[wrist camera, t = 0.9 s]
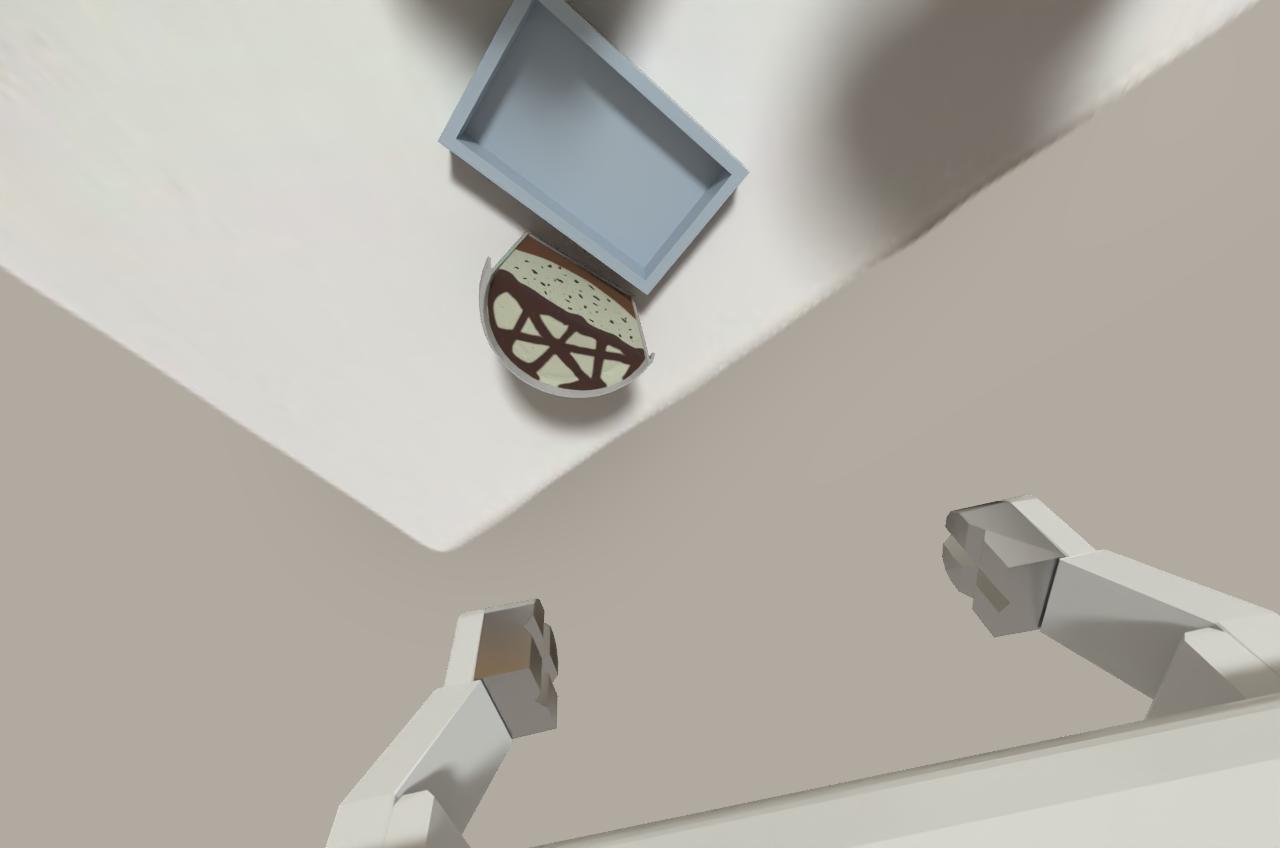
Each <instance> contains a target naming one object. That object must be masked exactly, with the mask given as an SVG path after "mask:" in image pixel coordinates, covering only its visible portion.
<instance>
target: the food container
mask: <svg viewBox="0 0 1280 848" xmlns="http://www.w3.org/2000/svg"><path fill="white" fill-rule="evenodd" d="M479 309H480V317H481V323H482V326H483V330H484V333H485V336H486V338H487V340H488V342H489V344H490V346H491V348H492V349H493V351H494V352H495V354H496V355H497V357H498V358H499V359H500V361H501V362H502V363H503V364H504V365H505V366H506V368H507V369H508V370H509V371H510V372H511V373H513V374H514V375H515V376H516V377H518V378H519V379H520V380H522V381H523V382H525V383H527V384H528V385H530V386H532V387H534V388H536V389H539V390H541V391H543V392H546V393H550V394H553V395H557V396H563V397H570V398H586V397H594V396H600V395H603V394H607V393H610V392H613V391H615V390H618V389H620V388H622V387H624V386H625V385H627V384H629V383H630V382H632V381H633V380H635V379H636V378H637V377H638V376H639V375H641V374H642V373H643V372H644V371H645V370H646V369H647V367H648V366H649V365H650V364H651V363H652V362H653V359H654V355H655V353H652V354H651V355H650V356H649V355H648V351H647V347H646V343H645V339H644V335H643V331H642V327H641V323H640V319H639V316H638V312H637V308H636V304H635V300H634V296H632V295H631V294H629V293H628V292H626V291H624V290H623V289H621V288H619V287H618V286H616V285H614V284H613V283H611V282H610V281H608V280H606V279H605V278H603V277H601V276H600V275H598V274H597V273H595V272H593V271H592V270H590V269H588V268H587V267H585V266H583V265H582V264H580V263H579V262H577V261H575V260H574V259H572V258H570V257H569V256H567V255H565V254H564V253H562V252H561V251H559V250H557V249H556V248H554V247H552V246H551V245H549V244H547V243H546V242H544V241H543V240H541V239H539V238H538V237H536V236H534V235H533V234H531V233H529V232H528V231H526V232H525V233H524V234H523V235H522V236H521V237H520V239H519V240H518V241H517V242H516V243H515V244H514V245H513V246H512V247H511V249H510V250H509V251H508V252H507V253H506V254H505V255H504V256H503V258H502V259H501V260H500V261H499V262H498V263H497V264H496V265H495V267H494V268H491V259H490V257H488V258H487V260H486V263H485V265H484V268H483V271H482V275H481V280H480V287H479Z"/></svg>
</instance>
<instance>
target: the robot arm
mask: <svg viewBox="0 0 1280 848" xmlns="http://www.w3.org/2000/svg"><path fill="white" fill-rule="evenodd" d="M946 528H947V529H948V531H949V532H950V533H951V536H950V537H949V538H948V539H947V540H946V541H945V543H944V544H943V555H942V557H943V561H944V565H945V569H946V572H947V574H948V576H949V578H950V579H951V581H952V583H953V584H954V585H955V587H956V588H957V589H958V591H960V592H962V593H964V594H966V595H968V596H970V597H972V598H973V608H972V609H973V611H974V612H975V613H976V614H977V616H978V617H979V618H980V619H981V621H982V622H983V623H984V625H985V626H986V627H987V629H988V630H989V631H990V633H991V634H992V635H993V636H994V637H998V636H1003V635H1009V634H1015V633H1021V632H1026V631H1031V630H1037V629H1040V632H1042V633H1044V634H1045V635H1047V636H1048V637H1050V638H1052V639H1053V640H1055V641H1057V642H1058V643H1060V644H1062V645H1064V646H1065V647H1067V648H1068V649H1070V650H1072V651H1074V652H1075V653H1077V654H1078V655H1080V656H1082V657H1083V658H1085V659H1087V660H1088V661H1090V662H1092V663H1094V664H1095V665H1097V666H1098V667H1100V668H1102V669H1103V670H1105V671H1107V672H1108V673H1110V674H1112V675H1113V676H1115V677H1117V678H1119V679H1120V680H1122V681H1124V682H1125V683H1127V684H1128V685H1130V686H1132V687H1133V688H1135V689H1137V690H1138V691H1140V692H1142V693H1143V694H1145V695H1147V696H1148V697H1150V698H1152V699H1153V702H1152V704H1151V707H1150V709H1149V711H1148V713H1147V715H1146V717H1145V719H1144V720H1143V721H1138V722H1133V723H1128V724H1124V725H1118V726H1113V727H1109V728H1104V729H1099V730H1094V731H1089V732H1085V733H1080V734H1075V735H1070V736H1065V737H1060V738H1056V739H1051V740H1046V741H1041V742H1036V743H1032V744H1027V745H1022V746H1017V747H1012V748H1008V749H1003V750H998V751H993V752H988V753H983V754H979V755H974V756H969V757H964V758H959V759H954V760H950V761H945V762H940V763H936V764H931V765H926V766H921V767H916V768H911V769H906V770H902V771H897V772H892V773H887V774H882V775H877V776H872V777H868V778H863V779H858V780H853V781H849V782H844V783H839V784H834V785H829V786H825V787H820V788H815V789H810V790H805V791H801V792H796V793H791V794H786V795H781V796H777V797H772V798H767V799H762V800H757V801H753V802H748V803H743V804H738V805H734V806H729V807H724V808H720V809H714V810H710V811H705V812H700V813H695V814H690V815H685V816H680V817H676V818H671V819H666V820H661V821H657V822H651V823H647V824H642V825H638V826H632V827H628V828H623V829H618V830H613V831H608V832H603V833H599V834H594V835H589V836H584V837H579V838H575V839H569V840H565V841H560V842H555V843H550V844H545V845H540V846H536V847H531V848H1280V616H1279V615H1277V614H1276V613H1275V612H1272V611H1270V610H1267V609H1264V608H1262V607H1259V606H1256V605H1254V604H1251V603H1248V602H1245V601H1243V600H1240V599H1237V598H1234V597H1232V596H1229V595H1227V594H1224V593H1221V592H1219V591H1216V590H1213V589H1210V588H1208V587H1205V586H1202V585H1200V584H1197V583H1194V582H1192V581H1189V580H1186V579H1183V578H1181V577H1178V576H1175V575H1173V574H1170V573H1167V572H1164V571H1162V570H1159V569H1156V568H1154V567H1151V566H1148V565H1146V564H1143V563H1140V562H1138V561H1135V560H1132V559H1129V558H1127V557H1124V556H1121V555H1118V554H1116V553H1113V552H1111V551H1108V550H1105V549H1104V550H1098V551H1096V550H1095V549H1094V548H1093V547H1092V546H1090V545H1089V544H1088V543H1087V542H1086V541H1085V540H1084V539H1083V538H1081V537H1080V536H1079V535H1078V534H1077V533H1076V532H1075V531H1073V530H1072V529H1071V528H1070V527H1069V526H1068V525H1067V524H1066V523H1064V522H1063V521H1062V520H1061V519H1060V518H1059V517H1058V516H1057V515H1055V514H1054V513H1053V512H1052V511H1051V510H1050V509H1048V508H1047V507H1046V506H1045V505H1044V504H1043V503H1042V502H1041V501H1040V500H1038V499H1037V498H1036V497H1034V496H1031V495H1023V496H1019V497H1014V498H1010V499H1005V500H1002V501H996V502H991V503H986V504H982V505H977V506H973V507H969V508H964V509H959V510H955V511H951V512H950V513H949V515H948V516H947V520H946ZM557 675H558V657H557V649H556V643H555V639H554V635H553V632H552V629H551V627H550V626H549V625H547V624H546V623H544V609H543V607H542V605H541V602H540V600H539V599H532V600H526V601H521V602H515V603H510V604H505V605H499V606H494V607H488V608H485V609H480V610H475V611H469V612H464V613H462V614H461V616H460V617H459V619H458V621H457V626H456V630H455V635H454V640H453V644H452V649H451V654H450V658H449V663H448V668H447V672H446V677H445V682H444V686H443V687H442V688H438V689H435V691H434V692H433V693H432V694H431V695H430V697H429V698H428V699H427V700H426V702H425V703H424V704H423V705H422V706H421V707H420V709H419V710H418V711H417V712H416V713H415V715H414V716H413V717H412V718H411V720H410V721H409V722H408V723H407V724H406V726H405V727H404V728H403V729H402V731H401V732H400V733H399V734H398V735H397V736H396V738H395V739H394V740H393V741H392V743H391V744H390V745H389V746H388V748H387V749H386V750H385V751H384V752H383V754H382V755H381V756H380V757H379V758H378V760H377V761H376V762H375V763H374V764H373V766H372V767H371V768H370V769H369V770H368V772H367V773H366V774H365V775H364V776H363V778H362V779H361V780H360V781H359V782H358V784H357V785H356V786H355V787H354V788H353V790H352V791H351V792H350V793H349V795H348V796H347V797H346V798H345V799H344V801H343V802H342V803H341V804H340V805H339V808H338V811H337V814H336V818H335V820H334V824H333V827H332V830H331V833H330V836H329V839H328V842H327V845H326V848H470V846H469V845H468V843H467V842H466V841H465V839H464V838H463V836H462V833H463V832H464V830H465V828H466V826H467V824H468V822H469V821H470V819H471V817H472V815H473V813H474V811H475V809H476V808H477V806H478V804H479V802H480V801H481V799H482V797H483V795H484V793H485V792H486V790H487V788H488V786H489V784H490V782H491V781H492V779H493V777H494V775H495V773H496V771H497V770H498V768H499V766H500V764H501V763H502V761H503V759H504V757H505V755H506V753H507V752H508V750H509V748H510V746H511V744H512V742H513V741H512V739H514V738H518V737H522V736H526V735H531V734H535V733H539V732H543V731H547V730H552V729H556V728H557V693H556V691H555V688H554V686H553V684H552V682H553V681H554V679H555V678H556V677H557Z"/></svg>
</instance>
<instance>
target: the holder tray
mask: <svg viewBox="0 0 1280 848" xmlns="http://www.w3.org/2000/svg"><path fill="white" fill-rule="evenodd" d="M438 142H439V143H441V144H442V145H443V146H445V147H446V148H447V149H449V150H450V151H452V152H453V153H454V154H456V155H457V156H458V157H460V158H461V159H462V160H464V161H465V162H466V163H468V164H469V165H471V166H472V167H473V168H475V169H476V170H477V171H479V172H480V173H481V174H483V175H484V176H486V177H487V178H488V179H490V180H491V181H492V182H494V183H495V184H496V185H498V186H499V187H500V188H502V189H503V190H505V191H506V192H507V193H509V194H510V195H511V196H513V197H514V198H515V199H517V200H518V201H520V202H521V203H522V204H524V205H525V206H526V207H528V208H529V209H530V210H532V211H533V212H534V213H536V214H537V215H539V216H540V217H541V218H543V219H544V220H545V221H547V222H548V223H549V224H551V225H552V226H554V227H555V228H556V229H558V230H559V231H560V232H562V233H563V234H564V235H566V236H567V237H568V238H570V239H571V240H573V241H574V242H575V243H577V244H578V245H579V246H581V247H582V248H583V249H585V250H586V251H588V252H589V253H590V254H592V255H593V256H594V257H596V258H597V259H598V260H600V261H601V262H603V263H604V264H605V265H607V266H608V267H609V268H611V269H612V270H613V271H615V272H616V273H617V274H619V275H620V276H622V277H623V278H624V279H626V280H627V281H628V282H630V283H631V284H632V285H634V286H635V287H637V288H638V289H639V290H641V291H642V292H643V293H645V294H646V295H648V294H649V293H650V291H651V290H652V289H653V288H654V287H655V285H656V284H657V283H658V282H659V281H660V279H661V278H662V277H663V276H664V275H665V273H666V272H667V271H668V270H669V269H670V267H671V266H672V265H673V264H674V263H675V261H676V260H677V259H678V258H679V257H680V255H681V254H682V253H683V252H684V251H685V249H686V248H687V247H688V246H689V244H690V243H691V242H692V241H693V240H694V238H695V237H696V236H697V235H698V234H699V232H700V231H701V230H702V229H703V228H704V226H705V225H706V224H707V223H708V222H709V220H710V219H711V218H712V217H713V216H714V214H715V213H716V212H717V211H718V210H719V208H720V207H721V206H722V205H723V203H724V202H725V201H726V200H727V199H728V197H729V196H730V195H731V194H732V193H733V191H734V190H735V189H736V188H737V187H738V185H739V184H740V183H741V182H742V181H743V179H744V178H745V177H746V176H747V175H748V173H749V171H748V170H747V169H746V168H745V167H744V166H743V164H742V163H741V162H740V161H739V160H738V159H737V158H735V157H734V156H733V155H732V154H731V153H730V152H729V151H728V150H727V149H726V148H725V147H723V146H722V145H721V144H720V143H719V142H718V141H717V140H716V139H715V138H714V137H713V136H711V135H710V134H709V133H708V132H707V131H706V130H705V129H704V128H703V127H702V126H701V125H699V124H698V123H697V122H696V121H695V120H694V119H693V118H692V117H691V116H690V115H689V114H688V113H686V112H685V111H684V110H683V109H682V108H681V107H680V106H679V105H678V104H677V103H676V102H674V101H673V100H672V99H671V98H670V97H669V96H668V95H667V94H666V93H665V92H664V91H662V90H661V89H660V88H659V87H658V86H657V85H656V84H655V83H654V82H653V81H652V80H650V79H649V78H648V77H647V76H646V75H645V74H644V73H643V72H642V71H641V70H640V69H638V68H637V67H636V66H635V65H634V64H633V63H632V62H631V61H630V60H629V59H628V58H627V57H625V56H624V55H623V54H622V53H621V52H620V51H619V50H618V49H617V48H616V47H615V46H613V45H612V44H611V43H610V42H609V41H608V40H607V39H606V38H605V37H604V36H603V35H601V34H600V33H599V32H598V31H597V30H596V29H595V28H594V27H593V26H592V25H591V24H589V23H588V22H587V21H586V20H585V19H584V18H583V17H582V16H581V15H580V14H579V13H577V12H576V11H575V10H574V9H573V8H572V7H571V6H570V5H569V4H568V3H567V2H566V1H564V0H514V1H513V2H512V4H511V6H510V8H509V10H508V12H507V14H506V15H505V17H504V19H503V21H502V23H501V25H500V27H499V28H498V30H497V32H496V34H495V36H494V38H493V40H492V41H491V43H490V45H489V47H488V49H487V51H486V53H485V54H484V56H483V58H482V60H481V62H480V64H479V66H478V67H477V69H476V71H475V73H474V75H473V77H472V79H471V80H470V82H469V84H468V86H467V88H466V90H465V92H464V94H463V95H462V97H461V99H460V101H459V103H458V105H457V107H456V108H455V110H454V112H453V114H452V116H451V118H450V120H449V121H448V123H447V125H446V127H445V129H444V131H443V133H442V134H441V136H440V138H439V140H438Z"/></svg>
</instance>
